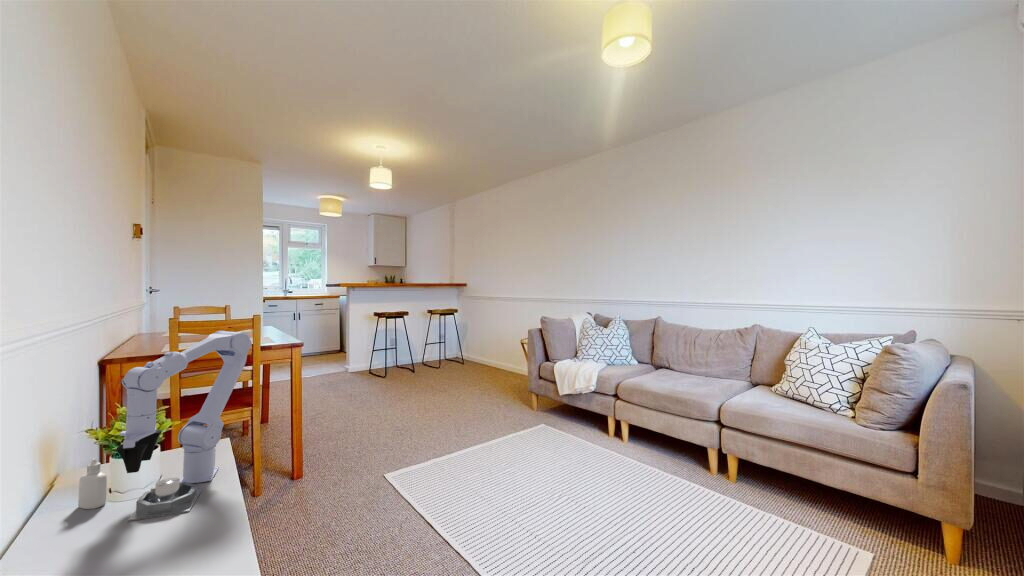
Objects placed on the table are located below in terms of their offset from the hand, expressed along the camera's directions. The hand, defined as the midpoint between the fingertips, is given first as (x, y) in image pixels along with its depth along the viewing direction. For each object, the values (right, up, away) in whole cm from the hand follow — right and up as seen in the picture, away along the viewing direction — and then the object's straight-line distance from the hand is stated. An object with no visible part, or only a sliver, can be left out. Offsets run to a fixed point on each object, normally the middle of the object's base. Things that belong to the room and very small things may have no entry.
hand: (139, 465), depth 105 cm
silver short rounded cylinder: (+7, -10, 0) cm, 12 cm away
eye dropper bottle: (-11, -10, -2) cm, 15 cm away
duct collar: (+7, -10, 0) cm, 12 cm away
